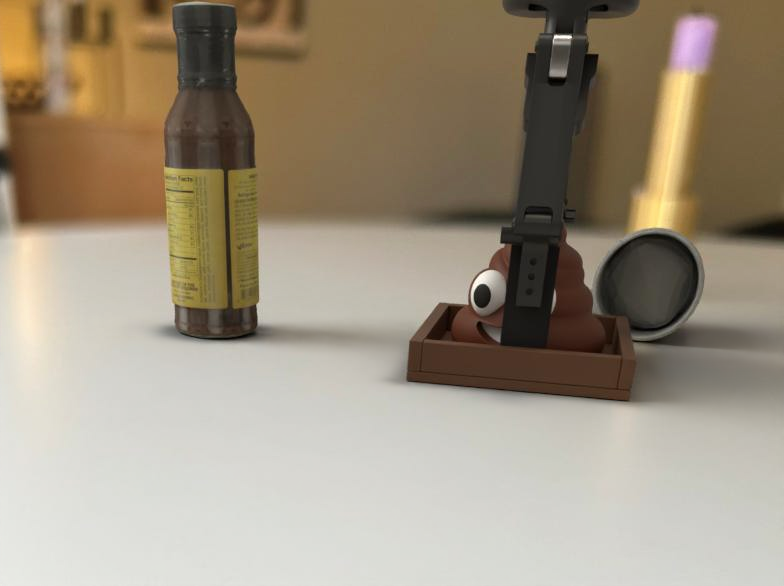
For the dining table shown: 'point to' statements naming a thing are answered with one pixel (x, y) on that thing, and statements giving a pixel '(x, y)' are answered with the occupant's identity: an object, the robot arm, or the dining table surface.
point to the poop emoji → (568, 315)
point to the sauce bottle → (210, 180)
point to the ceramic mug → (650, 282)
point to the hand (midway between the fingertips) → (526, 342)
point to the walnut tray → (522, 361)
